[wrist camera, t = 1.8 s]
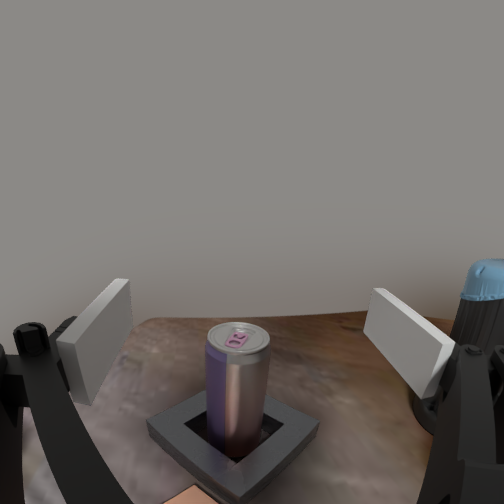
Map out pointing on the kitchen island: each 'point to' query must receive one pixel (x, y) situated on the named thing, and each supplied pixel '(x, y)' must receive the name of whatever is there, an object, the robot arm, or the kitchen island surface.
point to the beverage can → (236, 386)
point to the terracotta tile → (191, 497)
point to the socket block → (221, 467)
